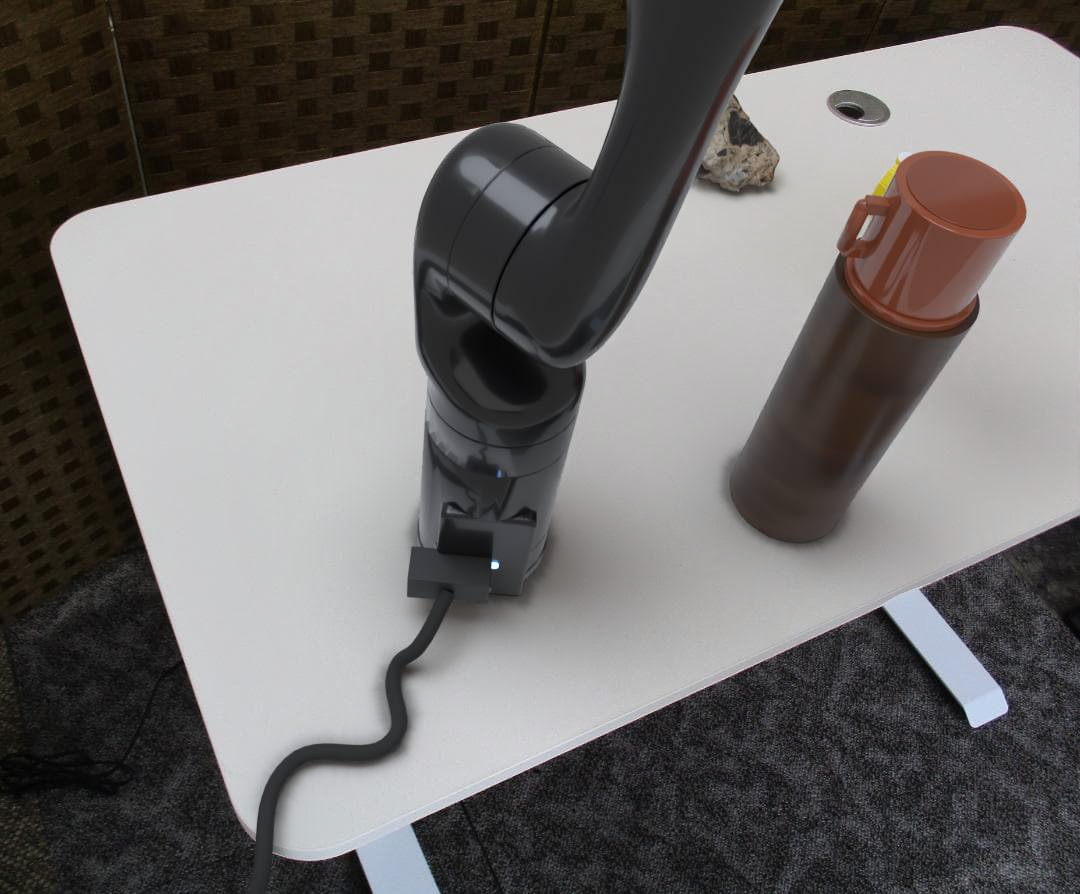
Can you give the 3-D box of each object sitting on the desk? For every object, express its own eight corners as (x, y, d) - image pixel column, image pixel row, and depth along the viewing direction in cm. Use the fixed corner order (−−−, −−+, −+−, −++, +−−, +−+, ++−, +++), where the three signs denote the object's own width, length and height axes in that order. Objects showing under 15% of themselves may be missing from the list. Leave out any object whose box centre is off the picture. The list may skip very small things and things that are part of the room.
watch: (877, 225, 100) (901, 177, 96) (857, 209, 102) (880, 161, 97) (914, 207, 103) (940, 160, 98) (895, 191, 104) (919, 144, 100)
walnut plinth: (848, 548, 76) (996, 346, 58) (734, 537, 76) (847, 329, 57) (831, 454, 82) (961, 242, 63) (725, 443, 81) (825, 225, 63)
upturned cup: (986, 339, 58) (1051, 248, 53) (832, 321, 57) (881, 227, 52) (956, 247, 63) (1012, 154, 57) (813, 229, 62) (856, 134, 57)
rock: (752, 122, 106) (698, 74, 99) (804, 134, 101) (751, 83, 94) (713, 198, 107) (657, 155, 100) (762, 213, 102) (707, 169, 95)
